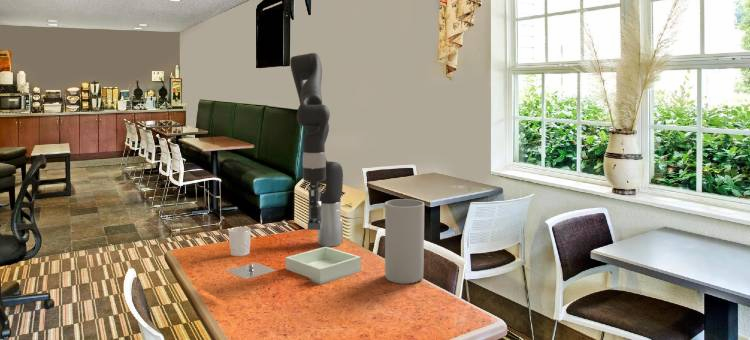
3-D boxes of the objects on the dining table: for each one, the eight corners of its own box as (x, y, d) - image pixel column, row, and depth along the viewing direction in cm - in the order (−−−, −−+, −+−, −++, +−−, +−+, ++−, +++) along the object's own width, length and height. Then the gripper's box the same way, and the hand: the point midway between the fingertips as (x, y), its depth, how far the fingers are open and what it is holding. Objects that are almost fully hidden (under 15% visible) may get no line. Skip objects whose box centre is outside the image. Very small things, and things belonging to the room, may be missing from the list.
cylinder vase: (412, 287, 167) (412, 208, 164) (377, 280, 174) (377, 204, 170) (429, 275, 178) (430, 201, 174) (396, 269, 184) (397, 197, 181)
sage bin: (325, 259, 195) (325, 246, 194) (361, 271, 182) (360, 256, 182) (285, 271, 182) (285, 257, 181) (320, 284, 169) (320, 269, 169)
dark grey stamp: (309, 226, 182) (309, 199, 181) (321, 226, 182) (322, 200, 181) (307, 229, 178) (307, 202, 176) (320, 229, 178) (320, 202, 176)
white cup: (225, 257, 197) (224, 231, 196) (238, 251, 205) (237, 226, 203) (242, 260, 194) (241, 233, 193) (255, 254, 202) (254, 228, 200)
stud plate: (256, 265, 188) (256, 256, 188) (276, 273, 180) (276, 264, 180) (225, 273, 180) (225, 264, 179) (245, 282, 172) (245, 272, 171)
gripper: (305, 162, 184) (306, 211, 186) (300, 168, 170) (301, 221, 172) (327, 162, 184) (328, 211, 186) (323, 168, 170) (324, 221, 172)
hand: (315, 216), depth 179 cm, fingers closed on dark grey stamp, 4 cm apart
